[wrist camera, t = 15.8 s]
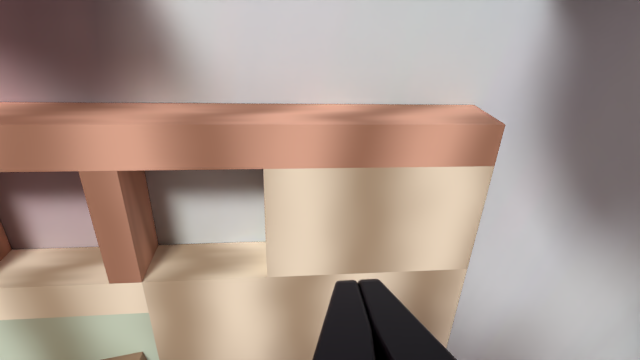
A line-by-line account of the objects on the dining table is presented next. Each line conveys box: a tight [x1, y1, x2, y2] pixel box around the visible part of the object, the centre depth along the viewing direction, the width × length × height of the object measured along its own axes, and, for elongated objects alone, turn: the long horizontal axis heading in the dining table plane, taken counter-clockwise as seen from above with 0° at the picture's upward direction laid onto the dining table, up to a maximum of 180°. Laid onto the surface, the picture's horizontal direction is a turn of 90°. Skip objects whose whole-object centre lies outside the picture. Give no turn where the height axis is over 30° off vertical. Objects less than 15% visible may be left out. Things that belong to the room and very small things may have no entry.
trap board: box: [0, 102, 505, 360], centre depth 21 cm, size 25×20×3 cm
